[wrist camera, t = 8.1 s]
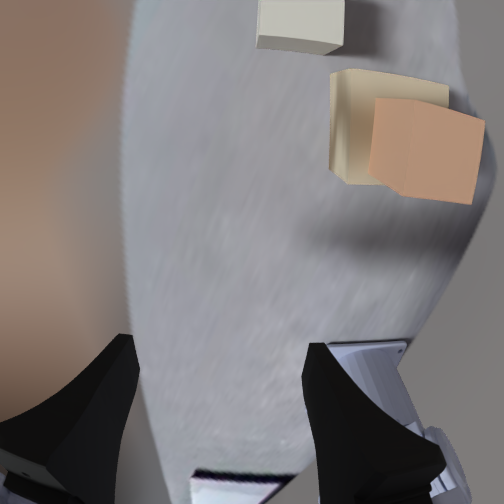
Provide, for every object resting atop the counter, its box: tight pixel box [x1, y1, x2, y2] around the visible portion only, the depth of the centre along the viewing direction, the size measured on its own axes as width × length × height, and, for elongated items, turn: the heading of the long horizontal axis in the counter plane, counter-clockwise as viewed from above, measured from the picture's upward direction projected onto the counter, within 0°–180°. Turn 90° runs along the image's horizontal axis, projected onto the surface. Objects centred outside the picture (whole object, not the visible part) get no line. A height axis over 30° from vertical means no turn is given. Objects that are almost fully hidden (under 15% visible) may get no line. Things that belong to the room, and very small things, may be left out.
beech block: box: [329, 68, 449, 185], centre depth 16 cm, size 6×6×4 cm
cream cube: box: [256, 0, 345, 56], centre depth 13 cm, size 4×4×4 cm
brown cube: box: [368, 98, 485, 205], centre depth 13 cm, size 4×4×4 cm
